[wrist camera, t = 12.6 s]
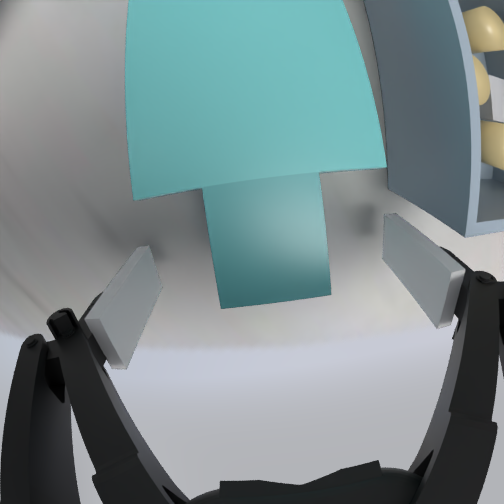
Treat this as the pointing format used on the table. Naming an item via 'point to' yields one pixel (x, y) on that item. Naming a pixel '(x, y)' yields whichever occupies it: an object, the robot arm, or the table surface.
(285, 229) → the snap lid
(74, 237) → the table surface
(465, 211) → the parts tub
